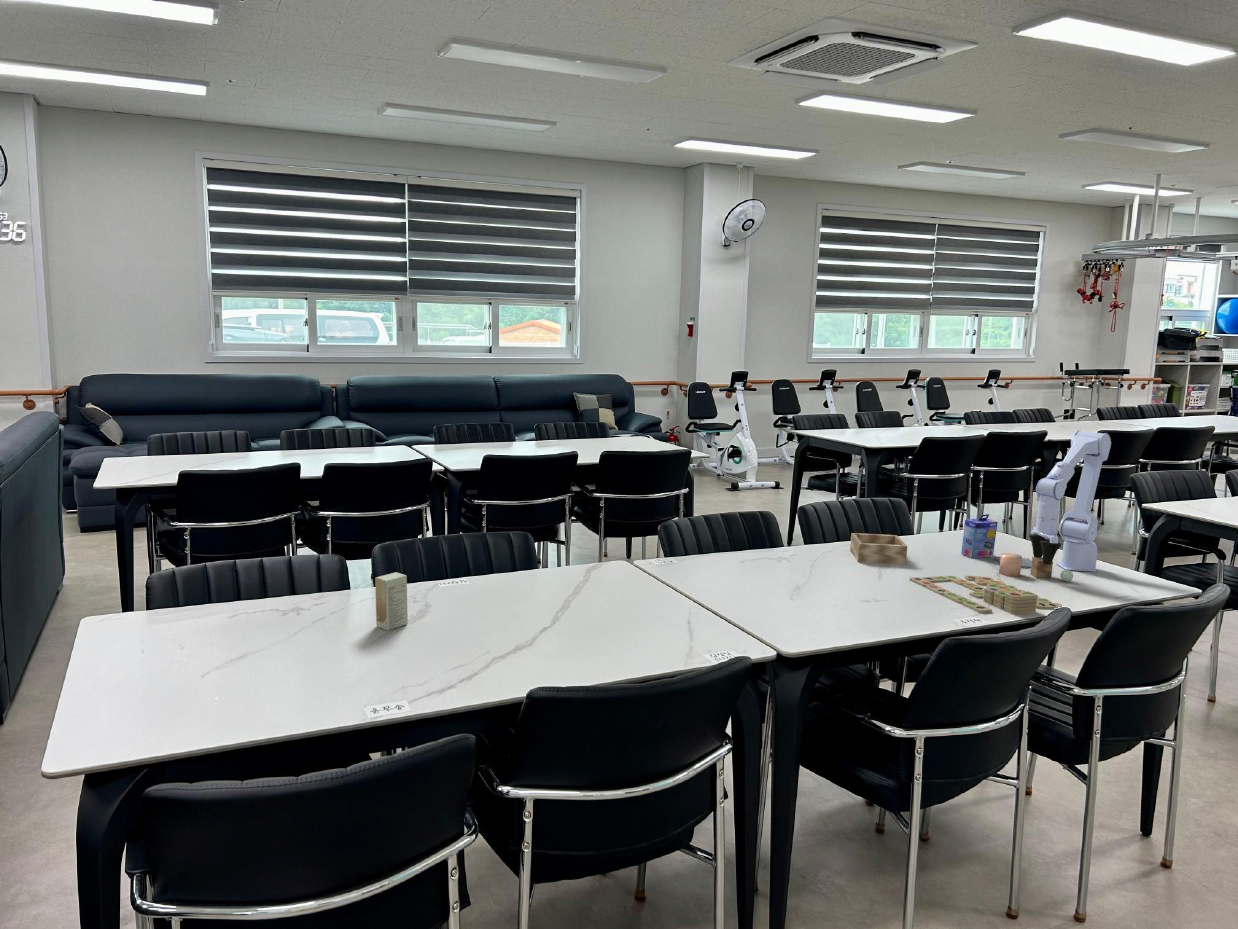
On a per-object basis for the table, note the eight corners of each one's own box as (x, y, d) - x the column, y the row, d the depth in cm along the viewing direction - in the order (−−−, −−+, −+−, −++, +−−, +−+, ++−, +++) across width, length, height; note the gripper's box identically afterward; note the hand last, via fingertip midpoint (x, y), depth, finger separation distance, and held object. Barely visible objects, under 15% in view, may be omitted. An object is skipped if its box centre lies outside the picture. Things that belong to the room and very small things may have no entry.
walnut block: (1045, 575, 274) (1047, 558, 273) (1051, 579, 269) (1053, 561, 268) (1030, 574, 274) (1032, 557, 273) (1035, 578, 270) (1037, 561, 269)
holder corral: (895, 552, 295) (896, 535, 294) (905, 564, 280) (907, 546, 279) (850, 550, 296) (851, 533, 296) (857, 562, 282) (859, 543, 281)
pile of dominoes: (1069, 612, 239) (1072, 592, 238) (987, 619, 231) (989, 598, 230) (982, 576, 271) (984, 559, 271) (907, 581, 263) (908, 563, 263)
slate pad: (1028, 560, 292) (1028, 558, 291) (1040, 568, 281) (1040, 567, 281) (993, 558, 292) (993, 556, 292) (1005, 566, 282) (1005, 565, 282)
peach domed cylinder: (1016, 572, 276) (1018, 553, 275) (1022, 577, 270) (1025, 558, 269) (996, 571, 277) (998, 552, 276) (1002, 576, 271) (1004, 557, 270)
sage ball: (1069, 580, 269) (1071, 568, 268) (1074, 583, 265) (1075, 572, 265) (1057, 579, 269) (1059, 568, 269) (1062, 582, 266) (1063, 571, 265)
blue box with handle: (972, 558, 291) (976, 516, 289) (960, 554, 296) (964, 512, 294) (994, 556, 295) (999, 514, 293) (982, 552, 300) (986, 510, 298)
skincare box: (397, 620, 213) (397, 571, 211) (408, 624, 210) (408, 575, 208) (374, 626, 208) (374, 576, 206) (385, 631, 205) (385, 580, 203)
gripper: (1025, 512, 276) (1020, 554, 278) (1042, 521, 262) (1037, 566, 264) (1048, 513, 276) (1043, 555, 278) (1067, 523, 261) (1062, 567, 263)
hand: (1042, 560), depth 271 cm, fingers open, 7 cm apart
